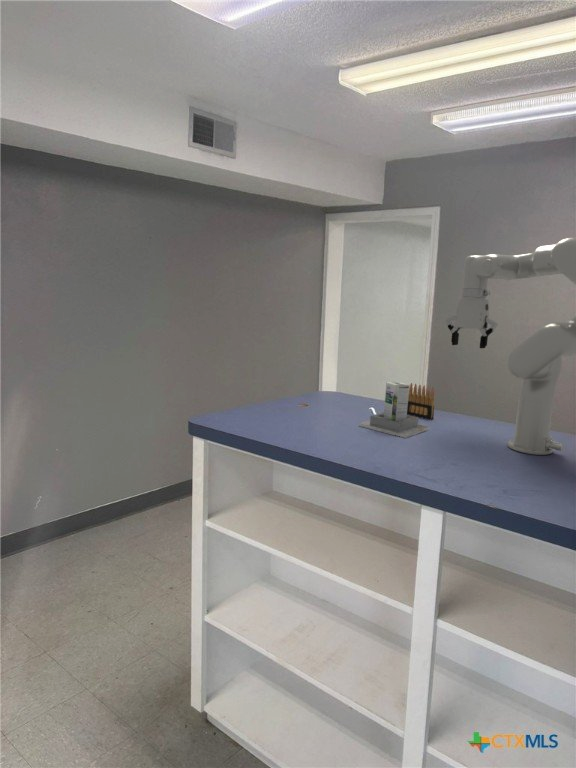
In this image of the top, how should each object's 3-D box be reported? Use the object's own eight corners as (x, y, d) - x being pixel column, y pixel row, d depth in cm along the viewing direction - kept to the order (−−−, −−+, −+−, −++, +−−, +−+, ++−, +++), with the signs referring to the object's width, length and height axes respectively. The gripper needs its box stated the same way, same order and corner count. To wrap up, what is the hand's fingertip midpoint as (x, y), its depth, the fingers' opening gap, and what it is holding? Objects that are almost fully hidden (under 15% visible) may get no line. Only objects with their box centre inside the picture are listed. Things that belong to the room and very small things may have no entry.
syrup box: (382, 423, 180) (385, 381, 178) (396, 422, 183) (399, 380, 180) (392, 428, 175) (395, 384, 173) (406, 426, 178) (410, 384, 175)
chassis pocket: (428, 429, 179) (429, 418, 178) (405, 438, 168) (406, 425, 167) (383, 419, 191) (384, 408, 190) (358, 426, 180) (359, 414, 179)
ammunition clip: (433, 419, 194) (436, 386, 192) (430, 419, 193) (433, 387, 191) (408, 413, 202) (410, 382, 199) (405, 414, 200) (407, 382, 198)
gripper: (504, 295, 171) (498, 348, 174) (454, 293, 182) (449, 343, 185) (495, 295, 165) (489, 350, 168) (443, 293, 177) (439, 344, 180)
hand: (468, 346), depth 177 cm, fingers open, 9 cm apart
